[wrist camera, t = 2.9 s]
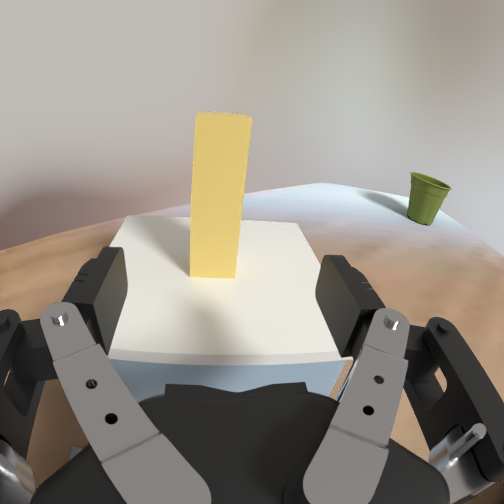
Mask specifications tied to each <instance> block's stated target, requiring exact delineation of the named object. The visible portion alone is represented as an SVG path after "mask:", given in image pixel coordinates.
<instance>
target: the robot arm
mask: <svg viewBox="0 0 504 504" xmlns="http://www.w3.org/2000/svg"><path fill="white" fill-rule="evenodd" d="M127 291H128V280H127V272H126V265H125V256H124V250H123V248H122V247H103V249H102V251H101V252H100V254H99V256H98V257H97V259H93V258H92V259H90V260H89V261H88V262H86V263H85V264H84V265H83V266H82V267H81V269H80V271H79V272H78V275H77V276H76V277H75V279H74V281H73V282H72V284H71V286H70V288H69V289H68V291H67V293H66V295H65V296H64V298H63V300H62V302H59V303H55V304H53V305H50V306H49V307H47V308H46V309H45V310H44V311H43V312H42V314H41V317H40V319H35V320H27V321H21V319H20V317H19V314H18V313H17V312H16V311H14V310H11V309H6V310H2V311H0V504H453V503H454V504H463V503H465V502H467V501H469V500H470V499H472V498H474V497H475V496H477V495H479V494H480V493H482V492H484V491H485V490H487V489H489V488H490V487H492V486H493V485H495V484H496V483H498V482H499V481H501V480H502V479H504V403H503V401H502V399H501V397H500V396H499V394H498V392H497V390H496V389H495V387H494V385H493V384H492V382H491V380H490V379H489V377H488V375H487V374H486V372H485V371H484V369H483V367H482V366H481V364H480V363H479V361H478V360H477V358H476V357H475V355H474V354H473V352H472V351H471V349H470V348H469V346H468V345H467V343H466V342H465V340H464V339H463V337H462V336H461V334H460V333H459V332H458V330H457V329H456V327H455V326H454V325H453V324H452V323H451V322H449V321H448V320H446V319H443V318H440V317H433V318H431V319H430V320H429V321H428V323H427V325H426V327H420V326H414V325H410V324H409V321H408V319H407V318H406V317H405V316H404V315H403V314H402V313H400V312H398V311H396V310H394V309H390V308H386V307H385V305H384V304H383V302H382V301H381V299H380V298H379V296H378V295H377V294H376V292H375V291H374V290H373V288H372V286H371V285H370V283H368V281H367V279H366V278H365V276H364V275H363V274H362V273H361V272H359V271H358V270H357V269H356V268H354V267H351V266H350V264H349V263H348V261H347V260H346V258H345V257H344V256H343V255H325V256H324V257H323V260H322V264H321V268H320V272H319V276H318V280H317V283H316V288H315V297H316V301H317V303H318V306H319V308H320V310H321V312H322V315H323V317H324V319H325V322H326V324H327V326H328V328H329V331H330V333H331V335H332V338H333V340H334V342H335V345H336V347H337V349H338V352H339V354H340V357H341V358H343V357H353V359H354V360H353V362H352V364H351V367H350V369H349V371H348V373H347V376H346V378H345V380H344V382H343V385H342V387H341V389H340V391H339V393H338V395H337V397H336V400H334V399H332V398H330V397H327V396H325V395H322V394H319V393H314V392H309V391H308V390H307V386H306V383H305V382H295V383H280V384H270V385H267V386H263V387H259V388H255V389H251V390H247V391H243V392H231V391H226V390H221V389H216V388H212V387H207V386H203V385H186V384H165V394H159V395H155V396H151V397H149V398H146V399H144V400H142V401H140V402H138V403H137V401H136V400H135V399H134V397H133V396H132V394H131V393H130V391H129V390H128V388H127V387H126V385H125V384H124V382H123V381H122V379H121V378H120V376H119V375H118V373H117V372H116V370H115V368H114V367H113V365H112V364H111V362H110V360H109V359H108V357H107V356H108V354H109V351H110V347H111V344H112V340H113V337H114V334H115V330H116V327H117V324H118V321H119V318H120V315H121V312H122V308H123V305H124V302H125V299H126V296H127ZM439 367H440V369H441V371H442V372H443V374H444V376H445V378H446V380H447V388H446V391H445V393H444V392H443V390H442V388H441V386H440V384H439V382H438V380H437V379H436V377H435V375H434V374H435V372H436V371H437V369H438V368H439ZM9 370H10V373H9V375H8V378H7V381H6V383H5V386H4V382H5V379H6V376H7V374H8V371H9ZM51 379H59V380H60V383H61V385H62V387H63V390H64V392H65V394H66V397H67V399H68V401H69V403H70V405H71V407H72V410H73V412H74V414H75V416H76V418H77V420H78V422H79V424H80V426H81V428H82V430H83V432H84V433H85V435H86V437H87V439H88V441H89V444H88V445H87V446H86V447H84V448H83V449H82V450H81V451H80V452H79V453H77V454H76V455H75V456H74V457H73V458H72V459H70V460H69V461H68V462H67V463H66V464H65V465H63V466H62V467H61V468H60V469H59V470H57V471H56V472H55V473H54V474H53V475H51V476H50V477H49V478H48V479H47V480H45V481H44V482H43V483H42V484H41V485H40V486H39V487H38V488H37V489H36V490H35V483H34V475H33V471H32V468H31V466H30V465H29V463H28V462H27V461H26V457H27V451H28V446H29V441H30V437H31V432H32V428H33V424H34V420H35V416H36V412H37V408H38V404H39V401H40V397H41V393H42V390H43V387H44V383H45V380H51ZM403 388H404V390H405V392H406V394H407V397H408V399H409V401H410V403H411V406H412V408H413V410H414V413H415V415H416V418H417V420H418V422H419V425H420V427H421V430H422V432H423V435H424V437H425V440H426V442H427V445H428V447H429V450H430V454H429V463H428V462H426V461H425V460H423V459H421V458H420V457H418V456H417V455H415V454H414V453H412V452H411V451H409V450H407V449H406V448H404V447H403V446H401V445H400V444H398V443H397V442H395V441H394V440H392V439H391V438H390V434H391V431H392V428H393V424H394V421H395V417H396V414H397V410H398V406H399V402H400V398H401V394H402V390H403Z"/></svg>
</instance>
